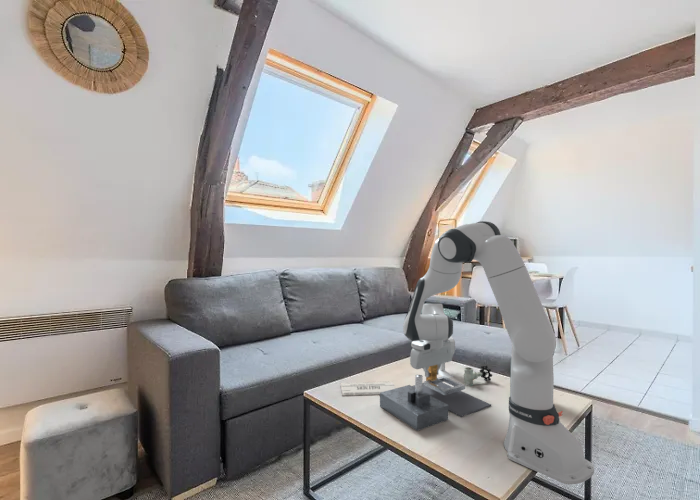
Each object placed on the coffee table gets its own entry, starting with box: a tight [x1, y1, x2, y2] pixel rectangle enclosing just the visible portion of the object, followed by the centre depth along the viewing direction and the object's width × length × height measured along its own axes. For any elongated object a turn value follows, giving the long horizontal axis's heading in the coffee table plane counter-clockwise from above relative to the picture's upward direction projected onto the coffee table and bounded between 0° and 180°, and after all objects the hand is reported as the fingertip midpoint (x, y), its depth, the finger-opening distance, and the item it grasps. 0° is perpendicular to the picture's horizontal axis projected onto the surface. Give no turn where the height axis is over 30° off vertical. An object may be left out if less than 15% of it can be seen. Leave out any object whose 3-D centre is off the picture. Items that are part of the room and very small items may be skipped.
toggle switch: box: [379, 374, 449, 431], centre depth 128 cm, size 20×14×14 cm
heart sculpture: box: [438, 336, 456, 379], centre depth 167 cm, size 16×5×18 cm, turn 15°
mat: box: [412, 382, 492, 418], centre depth 141 cm, size 28×16×1 cm, turn 31°
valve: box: [463, 365, 493, 387], centre depth 155 cm, size 7×7×12 cm
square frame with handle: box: [423, 365, 466, 395], centre depth 143 cm, size 14×11×7 cm
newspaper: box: [340, 381, 397, 397], centre depth 148 cm, size 23×12×2 cm, turn 95°
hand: (431, 375), depth 147 cm, fingers closed on square frame with handle, 3 cm apart
